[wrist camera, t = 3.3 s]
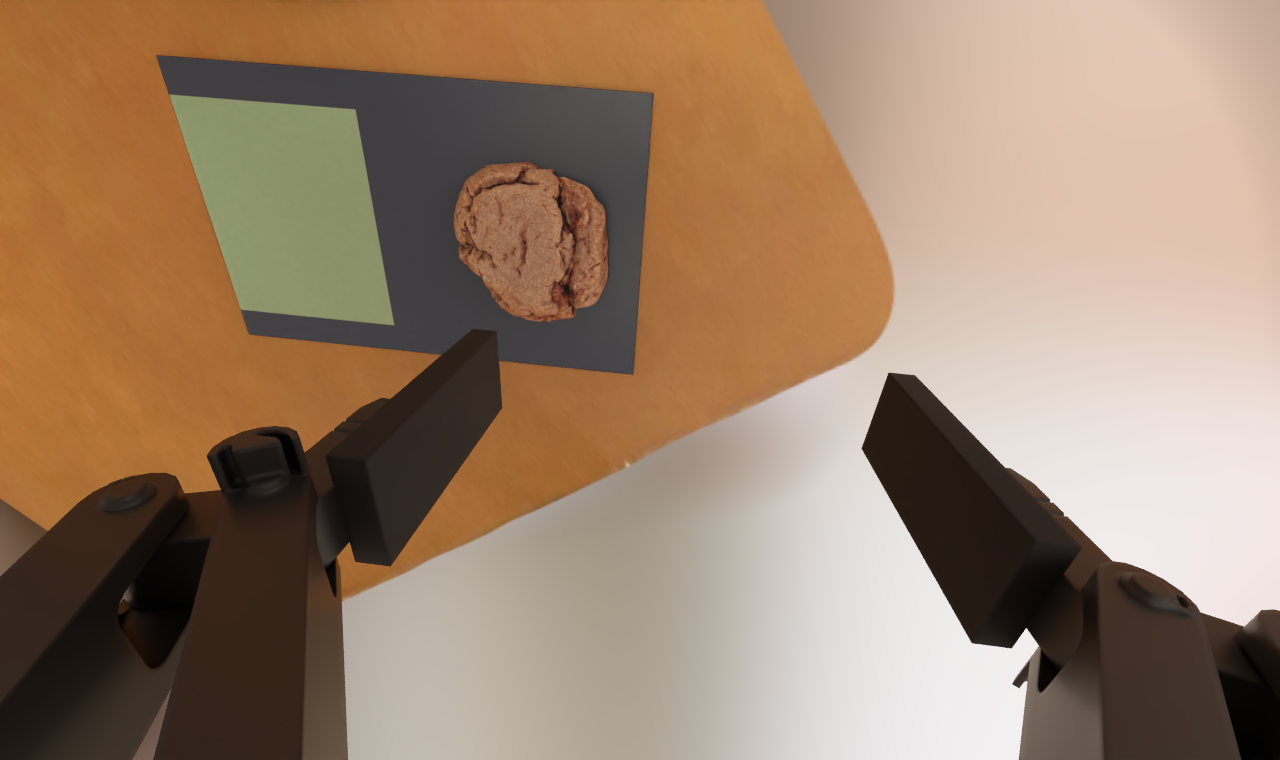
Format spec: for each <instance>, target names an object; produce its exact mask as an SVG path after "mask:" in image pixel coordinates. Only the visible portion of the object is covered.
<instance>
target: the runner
mask: <svg viewBox="0 0 1280 760" xmlns="http://www.w3.org/2000/svg"><path fill="white" fill-rule="evenodd" d="M156 57H157V60H158V63H159V66H160V69H161V72H162V75H163V78H164V81H165V84H166V87H167V90H168V93H169V96H170V99H171V102H172V105H173V108H174V111H175V114H176V117H177V120H178V123H179V126H180V129H181V132H182V135H183V138H184V141H185V144H186V147H187V150H188V153H189V156H190V159H191V162H192V165H193V168H194V171H195V174H196V177H197V180H198V183H199V186H200V189H201V192H202V195H203V198H204V201H205V204H206V207H207V210H208V213H209V215H210V218H211V221H212V224H213V227H214V230H215V233H216V236H217V239H218V242H219V245H220V248H221V251H222V254H223V257H224V260H225V263H226V266H227V269H228V272H229V275H230V278H231V281H232V284H233V287H234V290H235V293H236V296H237V299H238V302H239V305H240V308H241V311H242V314H243V317H244V320H245V323H246V326H247V329H248V332H249V334H251V335H260V336H270V337H279V338H289V339H298V340H308V341H317V342H327V343H336V344H346V345H355V346H365V347H374V348H384V349H393V350H403V351H413V352H422V353H432V354H441V355H443V354H444V353H445V352H446V351H447V350H448V349H449V348H451V347H452V346H453V345H454V344H455V343H456V342H458V341H459V340H460V339H461V338H462V337H463V336H465V335H466V334H467V333H468V332H469V331H470V330H472V329H482V330H491V331H497V341H498V355H499V361H508V362H517V363H527V364H536V365H546V366H555V367H565V368H574V369H584V370H593V371H603V372H613V373H622V374H632V375H633V367H634V354H635V340H636V326H637V313H638V299H639V285H640V271H641V258H642V244H643V230H644V217H645V203H646V189H647V175H648V162H649V148H650V134H651V121H652V107H653V93H643V92H630V91H617V90H604V89H591V88H578V87H565V86H552V85H539V84H526V83H512V82H499V81H486V80H473V79H460V78H447V77H434V76H421V75H408V74H395V73H382V72H369V71H356V70H342V69H329V68H316V67H303V66H290V65H277V64H264V63H251V62H238V61H225V60H212V59H199V58H186V57H172V56H159V55H156ZM519 162H531V163H533V164H535V165H537V166H538V167H540V168H543V169H553V170H554V175H555V176H557V177H558V178H559V177H565V178H568V179H571V180H573V181H576V182H578V183H580V184H582V185H585V186H587V187H588V188H589V189H590V190H591V192H592V193H593V195H594V197H595V198H596V199H597V201H598V202H599V203H600V204H601V205H602V206H603V208H604V210H605V215H606V221H607V222H606V224H605V225H606V232H607V238H608V249H607V254H608V276H607V282H606V284H605V287H604V289H603V291H602V293H601V295H600V297H599V299H598V300H597V302H596V303H595V304H593V305H592V306H588V307H583V308H577V310H576V314H575V317H573V318H570V319H558V320H552V321H551V322H548V321H541V322H537V321H531V320H526V319H524V318H522V317H521V316H520V317H518V316H513V315H511V314H510V313H509V312H507V311H506V310H504V309H502V308H501V307H500V305H499V304H498V303H497V302H496V300H495V298H493V297H492V294H491V291H490V290H489V289H488V288H487V287H486V286H485V284H484V281H483V279H482V278H481V277H480V276H478V275H477V274H475V273H474V272H473V271H472V270H471V269H470V268H469V267H468V266H467V265H466V264H465V263H463V262H462V261H461V260H460V258H459V247H460V246H461V245H460V241H458V240H457V238H456V234H455V229H454V212H455V207H456V204H457V201H458V198H459V195H460V191H461V190H462V188H463V186H464V183H465V181H466V180H467V179H468V178H469V177H470V176H472V175H474V174H475V173H476V172H478V171H479V170H480V169H481V168H484V167H485V166H487V165H492V164H507V163H519Z"/></svg>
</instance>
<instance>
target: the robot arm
mask: <svg viewBox="0 0 1280 760" xmlns="http://www.w3.org/2000/svg"><path fill="white" fill-rule="evenodd" d="M501 409H502V398H501V384H500V369H499V355H498V341H497V331H491V330H482V329H472V330H470V331H469V332H468V333H467V334H466V335H465V336H463V337H462V338H461V339H460V340H459V341H458V342H456V343H455V344H454V345H453V346H452V347H451V348H449V349H448V350H447V351H446V352H445V353H444V354H443V355H441V356H440V357H439V358H438V359H437V360H436V361H434V362H433V363H432V364H431V365H430V366H429V367H427V368H426V369H425V370H424V371H423V372H422V373H420V374H419V375H418V376H417V377H416V378H415V379H413V380H412V381H411V382H410V383H409V384H408V385H407V386H405V387H404V388H403V389H402V390H401V391H400V392H398V393H397V394H396V395H395V396H394V397H393V398H391V399H385V398H380V399H378V400H376V401H374V402H372V403H369V404H367V405H365V406H363V407H361V408H360V409H358V410H357V411H356V412H355V413H353V414H352V415H351V416H350V417H348V418H347V419H346V422H345V421H343V422H342V423H341V424H340V425H338V426H337V427H336V428H335V430H334V431H331V432H330V433H329V434H327V435H326V436H325V437H324V438H322V439H321V440H320V441H319V442H317V443H316V444H315V445H314V446H312V447H311V448H310V449H309V450H308V451H306V452H305V453H304V450H303V447H302V444H301V441H300V438H299V435H298V433H297V431H295V430H293V429H290V428H288V427H278V426H272V427H262V428H256V429H252V430H248V431H244V432H241V433H238V434H236V435H234V436H231V437H229V438H227V439H225V440H223V441H222V442H220V443H219V444H217V445H216V446H214V447H213V448H212V449H211V451H210V452H209V453H208V455H207V458H208V460H209V463H210V465H211V467H212V470H213V472H214V474H215V477H216V479H217V481H218V484H219V486H220V488H221V490H218V491H207V492H197V493H186V494H184V491H183V489H182V487H181V485H180V483H179V481H178V479H177V477H176V476H173V475H170V474H167V473H148V474H143V475H137V476H130V477H127V478H124V479H123V480H121V479H120V480H117V481H114V482H112V483H110V484H109V485H107V486H105V487H102V488H100V489H98V490H96V491H94V492H92V493H91V494H90V495H88V496H87V497H86V498H84V499H83V500H81V501H80V502H79V503H78V504H77V505H76V506H75V507H73V508H72V509H71V510H70V511H69V512H68V513H67V514H66V515H65V516H64V517H63V518H62V519H61V520H60V521H59V522H58V523H57V524H55V525H54V526H53V527H52V528H51V529H50V530H49V531H48V532H47V533H46V534H45V535H44V536H43V537H42V538H41V539H40V540H39V541H37V542H36V543H35V544H34V545H33V546H32V547H31V548H30V549H29V550H28V551H27V552H26V553H25V554H24V555H23V556H22V557H21V558H20V559H18V560H17V561H16V562H15V563H14V564H13V565H12V566H11V567H10V568H9V569H8V570H7V571H6V572H5V573H4V574H3V575H2V576H0V760H132V759H133V757H134V756H135V754H136V752H137V750H138V748H139V746H140V744H141V743H142V741H143V739H144V737H145V735H146V733H147V731H148V730H149V728H150V726H151V724H152V723H153V721H154V719H155V717H156V715H157V713H158V711H159V710H160V708H161V706H162V704H163V702H164V700H165V699H166V697H167V695H168V693H169V691H170V690H171V688H172V690H171V693H170V697H169V701H168V705H167V709H166V713H165V716H164V721H163V724H162V728H161V732H160V736H159V740H158V744H157V747H156V751H155V755H154V759H153V760H348V748H347V723H346V698H345V675H344V649H343V624H342V599H341V574H340V567H339V563H338V560H337V556H338V555H339V553H340V552H341V551H342V550H343V549H344V548H345V546H346V545H347V544H348V543H349V542H350V545H351V548H352V552H353V555H354V559H355V562H361V563H368V564H376V565H384V566H391V565H392V564H393V562H394V561H395V559H396V558H397V557H398V555H399V554H400V552H401V551H402V549H403V548H404V547H405V545H406V544H407V542H408V541H409V539H410V538H411V537H412V535H413V534H414V532H415V531H416V529H417V528H418V527H419V525H420V524H421V522H422V521H423V520H424V518H425V517H426V515H427V514H428V512H429V511H430V510H431V508H432V507H433V505H434V504H435V502H436V501H437V500H438V498H439V497H440V495H441V494H442V493H443V491H444V490H445V488H446V487H447V485H448V484H449V483H450V481H451V480H452V478H453V477H454V475H455V474H456V473H457V471H458V470H459V468H460V467H461V465H462V464H463V463H464V461H465V460H466V458H467V457H468V456H469V454H470V453H471V451H472V450H473V448H474V447H475V446H476V444H477V443H478V441H479V440H480V438H481V437H482V436H483V434H484V433H485V431H486V430H487V429H488V427H489V426H490V424H491V423H492V421H493V420H494V419H495V417H496V416H497V414H498V413H499V411H500V410H501ZM862 450H863V452H864V454H865V455H866V457H867V459H868V461H869V462H870V464H871V466H872V468H873V470H874V471H875V473H876V475H877V477H878V478H879V480H880V482H881V484H882V485H883V487H884V489H885V491H886V492H887V494H888V496H889V498H890V499H891V501H892V503H893V505H894V507H895V508H896V510H897V512H898V513H899V515H900V517H901V519H902V520H903V522H904V524H905V526H906V528H907V529H908V531H909V533H910V534H911V537H912V538H913V540H914V542H915V543H916V545H917V547H918V549H919V550H920V552H921V554H922V556H923V558H924V559H925V561H926V563H927V565H928V567H929V568H930V570H931V572H932V574H933V575H934V577H935V579H936V581H937V582H938V584H939V586H940V588H941V589H942V591H943V593H944V595H945V596H946V598H947V600H948V602H949V604H950V605H951V607H952V609H953V610H954V612H955V614H956V616H957V618H958V619H959V621H960V623H961V625H962V627H963V628H964V630H965V632H966V634H967V635H968V637H969V639H970V640H971V642H972V643H975V644H983V645H990V646H998V647H1005V648H1012V647H1013V646H1014V644H1015V643H1016V642H1017V640H1018V639H1019V637H1020V636H1021V634H1022V633H1023V632H1024V630H1025V629H1026V628H1027V629H1028V631H1029V632H1030V633H1031V635H1032V636H1033V638H1034V639H1035V641H1036V642H1037V643H1038V645H1039V647H1038V649H1037V650H1036V651H1035V653H1034V654H1033V655H1032V657H1031V658H1030V659H1029V661H1028V662H1027V663H1026V665H1025V666H1024V667H1023V669H1022V670H1021V672H1020V673H1019V674H1018V675H1017V677H1016V678H1015V680H1014V682H1013V685H1015V686H1016V687H1018V688H1020V686H1021V685H1022V684H1023V682H1024V681H1028V683H1027V691H1026V692H1027V693H1026V701H1025V710H1024V719H1023V727H1022V736H1021V745H1020V754H1019V760H1280V611H1278V610H1261V611H1260V612H1259V613H1258V614H1257V615H1256V616H1255V617H1254V618H1253V619H1252V620H1251V621H1250V622H1249V623H1248V624H1247V625H1246V626H1245V627H1243V626H1240V625H1237V624H1234V623H1231V622H1228V621H1225V620H1222V619H1219V618H1216V617H1213V616H1210V615H1206V614H1203V613H1200V611H1199V609H1198V608H1197V606H1196V605H1195V604H1194V603H1193V602H1192V601H1191V600H1190V599H1189V598H1188V597H1187V596H1186V595H1184V593H1183V592H1182V591H1180V590H1178V589H1177V588H1176V587H1174V586H1173V585H1171V584H1169V583H1168V582H1167V581H1165V580H1164V579H1162V578H1160V577H1158V576H1156V575H1154V574H1152V573H1150V572H1148V571H1146V570H1144V569H1141V568H1138V567H1135V566H1133V565H1130V564H1127V563H1121V562H1114V561H1112V560H1111V559H1110V558H1109V557H1108V556H1107V555H1106V554H1105V553H1104V552H1103V551H1102V550H1101V549H1100V548H1098V547H1097V546H1096V544H1094V543H1093V542H1092V541H1091V540H1090V539H1089V538H1088V537H1087V536H1086V535H1085V534H1084V533H1083V532H1082V531H1081V530H1080V529H1079V528H1078V527H1077V526H1076V525H1075V524H1074V523H1073V522H1072V521H1071V520H1070V519H1069V518H1068V517H1065V516H1064V513H1063V512H1062V511H1061V510H1060V509H1059V508H1058V507H1057V506H1056V505H1055V504H1054V503H1050V499H1049V498H1048V497H1047V496H1046V495H1045V494H1044V493H1043V492H1042V491H1041V490H1040V489H1039V488H1038V487H1037V486H1036V485H1035V484H1034V483H1032V482H1031V481H1029V480H1028V479H1026V478H1024V477H1023V476H1021V475H1020V474H1018V473H1017V472H1015V471H1014V470H1012V469H1010V468H1005V467H1004V466H1003V465H1002V464H1001V463H1000V462H999V461H998V460H997V459H996V458H995V457H994V456H993V455H992V454H991V453H990V452H989V451H988V450H987V449H986V448H985V447H984V446H983V445H982V444H981V443H980V442H979V441H978V440H977V439H976V438H975V436H974V435H973V434H972V433H971V432H969V430H968V429H967V428H966V427H965V426H964V425H963V424H962V423H961V422H960V421H959V420H958V419H957V418H956V417H955V416H954V415H953V414H952V413H951V412H950V411H949V410H948V409H947V408H946V407H945V406H944V405H943V404H942V403H941V402H940V401H939V400H938V398H937V397H936V396H935V395H934V394H933V393H932V392H931V391H930V390H929V389H928V388H927V387H926V386H925V385H924V384H923V383H922V382H921V381H920V380H919V379H918V378H917V377H916V376H915V375H906V374H897V373H888V376H887V379H886V382H885V385H884V387H883V390H882V393H881V396H880V399H879V402H878V404H877V407H876V410H875V413H874V415H873V418H872V421H871V424H870V427H869V430H868V432H867V435H866V438H865V441H864V443H863V446H862ZM122 597H123V598H124V599H123V601H122V602H121V603H120V601H121V599H122ZM119 603H120V605H119Z"/></svg>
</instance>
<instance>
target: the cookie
mask: <svg viewBox="0 0 1280 760" xmlns="http://www.w3.org/2000/svg"><path fill="white" fill-rule="evenodd" d="M606 222H607V221H606V215H605V210H604V208H603V206H602V205H601V204H600V203H599V202H598V201H597V199H596V198H595V197H594V195H593V193H592V192H591V190H590V189H589V188H588V187H587V186H585V185H582V184H580V183H578V182H576V181H573V180H571V179H568V178H565V177H559V178H558V177H557V176H555V175H554V170H553V169H543V168H540V167H538V166H537V165H535V164H533V163H531V162H519V163H507V164H492V165H487V166H485V167H484V168H481V169H480V170H479V171H478V172H476V173H475V174H474V175H472V176H470V177H469V178H468V179H467V180H466V181H465V183H464V186H463V188H462V190H461V191H460V195H459V198H458V201H457V204H456V207H455V212H454V229H455V234H456V238H457V240H458V241H460V245H461V246H460V247H459V258H460V260H461V261H462V262H463V263H465V264H466V265H467V266H468V267H469V268H470V269H471V270H472V271H473V272H474V273H475V274H477V275H478V276H480V277H481V278H482V279H483V281H484V284H485V286H486V287H487V288H488V289H489V290H490V291H491V294H492V297H493V298H495V300H496V302H497V303H498V304H499V305H500V307H501V308H502V309H504V310H506V311H507V312H509V313H510V314H511V315H513V316H518V317H520V316H521V317H522V318H524V319H526V320H531V321H537V322H541V321H548V322H551V321H552V320H558V319H570V318H573V317H575V314H576V310H577V308H583V307H588V306H592V305H593V304H595V303H596V302H597V300H598V299H599V297H600V295H601V293H602V291H603V289H604V287H605V284H606V282H607V276H608V254H607V249H608V238H607V232H606V225H605V224H606Z"/></svg>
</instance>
